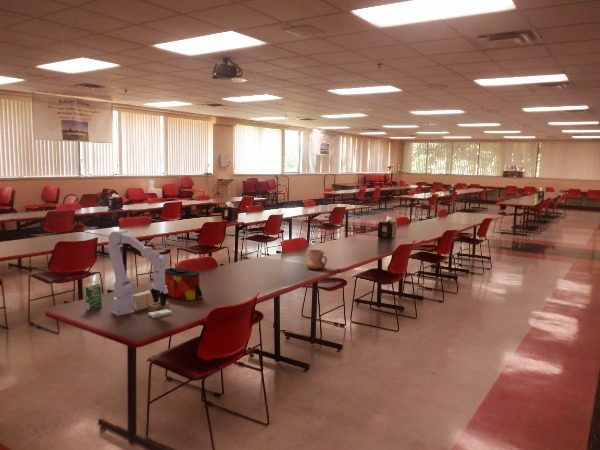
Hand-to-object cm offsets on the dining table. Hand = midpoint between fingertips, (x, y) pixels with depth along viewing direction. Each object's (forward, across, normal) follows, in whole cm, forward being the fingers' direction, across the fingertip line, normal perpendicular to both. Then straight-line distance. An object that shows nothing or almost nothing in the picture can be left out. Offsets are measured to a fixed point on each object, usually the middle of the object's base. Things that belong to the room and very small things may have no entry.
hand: (159, 303), depth 248 cm
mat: (+6, 0, 0) cm, 6 cm away
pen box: (+6, +7, -3) cm, 10 cm away
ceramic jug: (+6, +26, -144) cm, 147 cm away
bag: (+6, +25, -27) cm, 37 cm away
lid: (+6, 0, 0) cm, 6 cm away
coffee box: (+7, +32, +22) cm, 40 cm away
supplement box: (+2, +19, -6) cm, 21 cm away
